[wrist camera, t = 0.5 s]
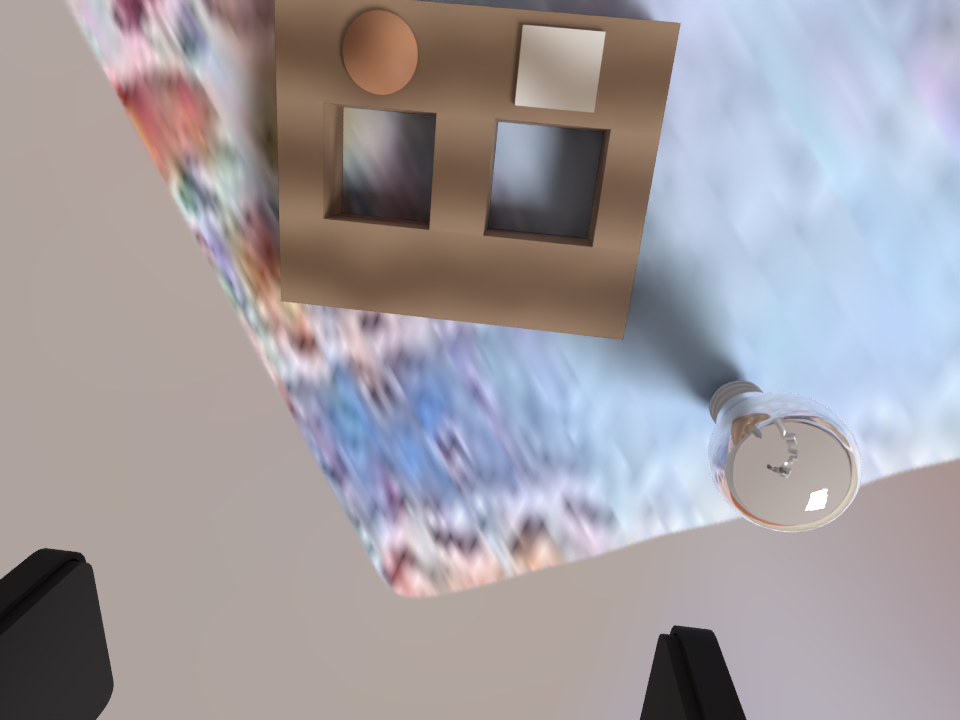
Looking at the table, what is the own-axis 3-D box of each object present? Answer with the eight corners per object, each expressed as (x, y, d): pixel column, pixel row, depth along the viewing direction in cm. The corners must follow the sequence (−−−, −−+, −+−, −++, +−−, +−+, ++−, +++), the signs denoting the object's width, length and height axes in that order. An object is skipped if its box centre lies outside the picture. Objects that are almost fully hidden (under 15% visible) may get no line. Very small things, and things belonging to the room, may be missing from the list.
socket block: (300, 4, 33) (271, -14, 29) (665, 36, 32) (682, 21, 28) (302, 288, 38) (279, 302, 35) (615, 323, 37) (623, 341, 34)
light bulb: (651, 409, 39) (699, 514, 28) (722, 324, 37) (806, 400, 25) (736, 463, 40) (816, 587, 28) (811, 383, 37) (930, 483, 26)
